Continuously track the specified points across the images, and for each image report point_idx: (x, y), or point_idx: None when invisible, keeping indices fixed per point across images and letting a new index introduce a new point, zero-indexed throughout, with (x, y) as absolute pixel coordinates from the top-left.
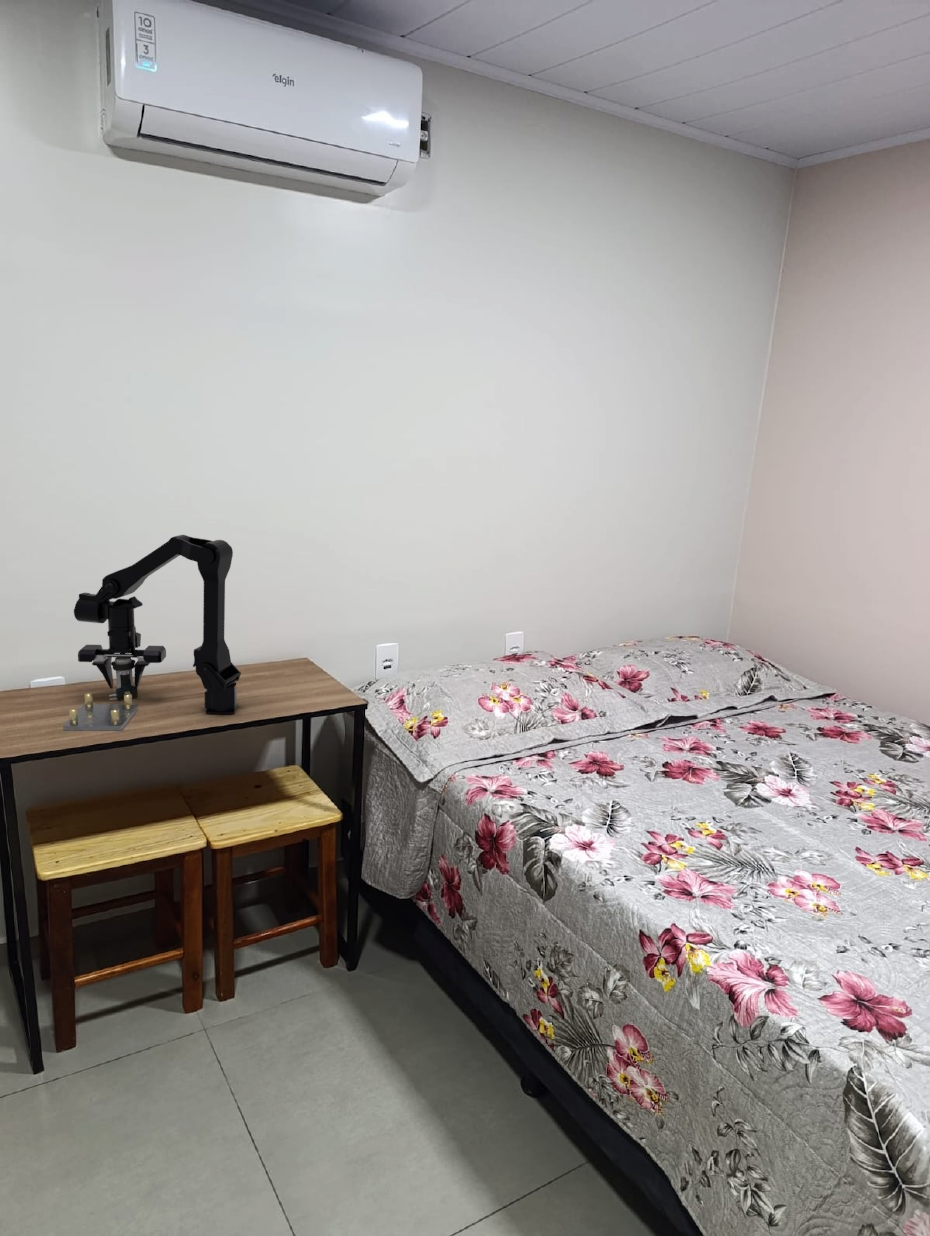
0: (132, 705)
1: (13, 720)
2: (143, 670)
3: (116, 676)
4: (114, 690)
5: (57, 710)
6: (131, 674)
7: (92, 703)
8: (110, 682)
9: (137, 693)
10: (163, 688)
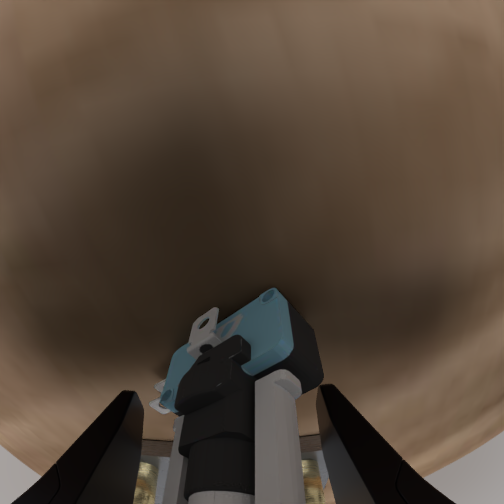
0: (316, 453)
1: (25, 462)
2: (428, 485)
3: (164, 493)
4: (161, 397)
5: (47, 434)
6: (294, 481)
7: (156, 482)
8: (138, 464)
9: (315, 344)
10: (442, 82)
